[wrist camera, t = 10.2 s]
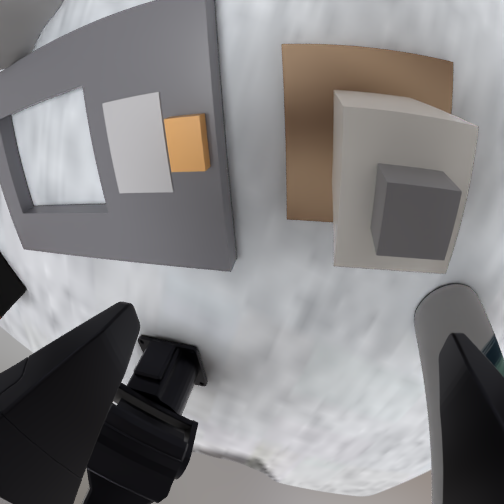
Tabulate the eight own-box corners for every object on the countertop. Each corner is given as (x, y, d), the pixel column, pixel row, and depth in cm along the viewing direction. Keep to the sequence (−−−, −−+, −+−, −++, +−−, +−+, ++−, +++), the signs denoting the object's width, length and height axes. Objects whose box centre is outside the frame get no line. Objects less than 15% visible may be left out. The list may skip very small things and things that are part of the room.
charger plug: (401, 186, 15) (457, 303, 8) (331, 180, 16) (333, 296, 9) (409, 97, 13) (504, 140, 5) (333, 89, 14) (347, 114, 6)
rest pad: (430, 225, 17) (432, 230, 16) (288, 214, 19) (286, 219, 18) (449, 62, 11) (453, 62, 11) (283, 45, 13) (281, 44, 13)
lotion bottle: (448, 342, 22) (467, 576, 5) (398, 325, 22) (398, 597, 5) (490, 295, 18) (547, 553, 2) (442, 271, 18) (491, 588, 2)
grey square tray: (236, 258, 21) (227, 279, 20) (32, 241, 26) (18, 253, 24) (214, -6, 12) (198, -15, 10) (-8, 82, 17) (-27, 88, 15)
